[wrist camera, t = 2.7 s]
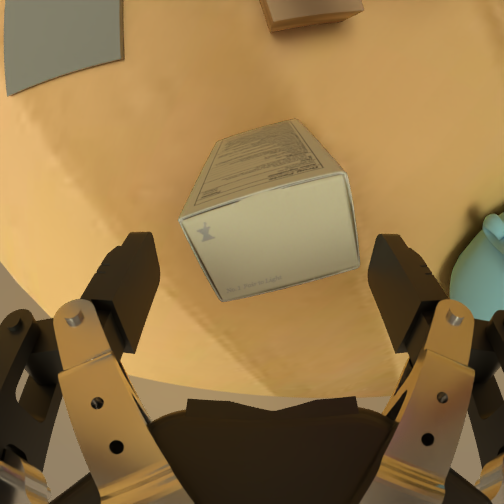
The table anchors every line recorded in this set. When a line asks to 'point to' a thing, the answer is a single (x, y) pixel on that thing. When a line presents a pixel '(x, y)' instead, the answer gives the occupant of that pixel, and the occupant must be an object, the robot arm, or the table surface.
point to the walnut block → (307, 12)
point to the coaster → (58, 38)
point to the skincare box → (270, 213)
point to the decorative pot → (481, 271)
